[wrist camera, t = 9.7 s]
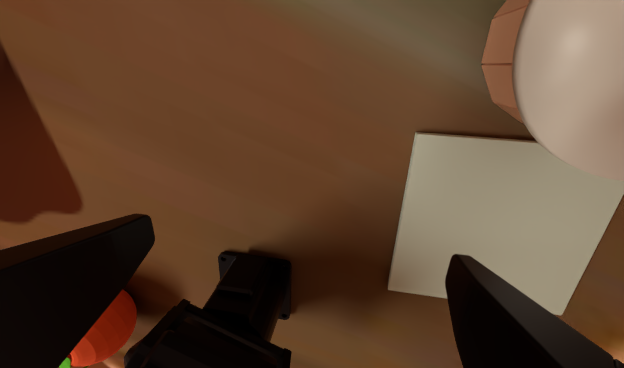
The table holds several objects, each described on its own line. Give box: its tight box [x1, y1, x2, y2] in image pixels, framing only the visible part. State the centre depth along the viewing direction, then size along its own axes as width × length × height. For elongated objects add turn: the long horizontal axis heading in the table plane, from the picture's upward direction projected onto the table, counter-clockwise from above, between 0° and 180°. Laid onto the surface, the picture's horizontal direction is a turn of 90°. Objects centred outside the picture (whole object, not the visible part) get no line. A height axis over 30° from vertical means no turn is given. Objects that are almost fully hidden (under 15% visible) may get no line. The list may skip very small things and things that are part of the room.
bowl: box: [481, 0, 530, 124], centre depth 13 cm, size 9×9×6 cm
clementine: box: [59, 289, 137, 368], centre depth 27 cm, size 8×7×7 cm
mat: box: [388, 132, 624, 315], centre depth 21 cm, size 13×13×1 cm
